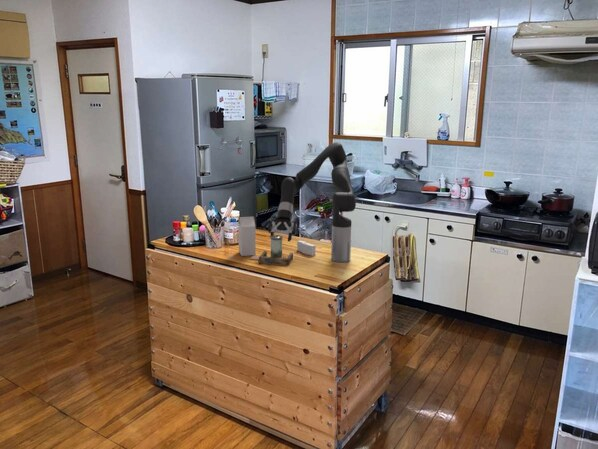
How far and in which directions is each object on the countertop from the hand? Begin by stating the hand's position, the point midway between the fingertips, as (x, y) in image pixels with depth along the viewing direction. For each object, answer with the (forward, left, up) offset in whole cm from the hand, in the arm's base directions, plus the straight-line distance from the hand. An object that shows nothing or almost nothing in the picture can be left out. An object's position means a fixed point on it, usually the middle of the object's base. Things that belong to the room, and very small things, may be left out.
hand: (280, 240), depth 246 cm
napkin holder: (-12, -9, -8) cm, 17 cm away
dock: (0, +10, -8) cm, 12 cm away
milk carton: (+17, +2, -8) cm, 19 cm away
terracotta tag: (+10, +8, -8) cm, 15 cm away
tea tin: (0, +10, -8) cm, 12 cm away
